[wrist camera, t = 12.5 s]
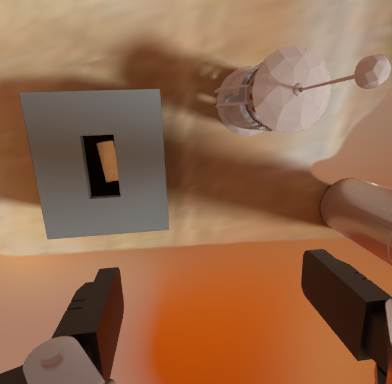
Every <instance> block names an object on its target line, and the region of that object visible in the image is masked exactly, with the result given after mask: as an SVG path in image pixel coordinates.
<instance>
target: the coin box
mask: <svg viewBox="0 0 392 384" xmlns="http://www.w3.org/2000/svg"><path fill="white" fill-rule="evenodd" d="M19 96H20V101H21V106H22V111H23V116H24V121H25V126H26V132H27V137H28V142H29V147H30V152H31V157H32V162H33V167H34V173H35V178H36V183H37V188H38V193H39V198H40V203H41V208H42V213H43V219H44V224H45V229H46V234H47V239H59V238H72V237H84V236H97V235H110V234H122V233H135V232H148V231H161V230H169V217H168V197H167V182H166V167H165V152H164V138H163V123H162V108H161V95H160V89H133V90H93V91H53V92H19ZM90 135H114V143H115V152H116V161H117V169H118V178H119V187H120V195H109V196H93V197H91V190H90V183H89V176H88V169H87V162H86V155H85V148H84V141H83V136H90Z"/></svg>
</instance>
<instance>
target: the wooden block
mask: <svg viewBox="0 0 392 384" xmlns="http://www.w3.org/2000/svg"><path fill="white" fill-rule="evenodd" d="M96 144H97V148H98V152H99V156H100V159H101V163H102V167H103V171H104V175H105V179H106V182H112V181H118V180H119V178H118V169H117V161H116V152H115V143H114V139H112V140H106V141H102V142H99V143H96Z"/></svg>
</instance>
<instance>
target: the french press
mask: <svg viewBox="0 0 392 384" xmlns="http://www.w3.org/2000/svg"><path fill="white" fill-rule="evenodd" d="M258 66H260V67H258ZM258 66H256V67H251V66H248V67H244V68H240V69H236V70H235V71H234V72H232V73H231V74H230V75H228V76H227V77H226V78H225V80H224V81H223V83H222V85H221V86H220V88H219V89H217V90H215V91H214V92H215V93H217V94H218V96H217V102H216V104H217V105H215V108H217V109H218V114H219V117H220V119H221V120H222V122H223V123H224V125H225V126H226V128H228V129H229V130H231V131H232V132H234V133H236V134H238V135H244V136H251V135H255V134H259V133H262V132H263V131H266V130H268V129H270V130H268V131H272V130H273V131H275V132H280V133H286V134H292V133H296V132H300V131H304V130H306V129H307V128H308V127H310V126H311V125H312V124H314V123H315V122H317V121H318V119H319V118H320V116H321V115H322V113H323V112H324V110H325V109H326V107H327V104H328V101H329V97H330V93H331V84H333V83H337V82H341V81H346V80H350V79H354V78H355V81H356V83H357V85H358V86H360V87H361V88H364V89H371V88H375V87H377V86H378V85H380V84H381V83H383V82H384V81H385V80H387V79H388V77H389V74H390V71H391V66H390V63H389V61H388V59H387V58H386V57H385V56H383V55H380V54H378V55H373V56H369V57H365V58H364V59H362V60H361V61H360V62H359V63H358V65H357V66H356V70H355V75H352V76H348V77H344V78H340V79H336V80H332V81H330V74H329V72H328V70H327V68H326V66H325V63H324V61H323V59H322V58H320V57H319V56H318V55H317V54H316V53H314V52H313V51H312V50H311V49H308V48H304V47H299V46H295V45H294V46H290V47H285V48H281V49H278V50H277V51H275V52H274V53H272V54H271V55H270V56H268V57H267V58H266V59H265V60H264V61H263V63H261V64H259V65H258ZM217 91H218V92H217Z"/></svg>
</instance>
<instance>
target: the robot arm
mask: <svg viewBox="0 0 392 384" xmlns="http://www.w3.org/2000/svg"><path fill="white" fill-rule="evenodd" d="M320 211H321V216H322V218H323V220H324V222H325V223H326V224H327V225H328V226H330V227H331V228H333V229H334V230H336V231H338V232H339V233H341V234H342V235H344V236H345V237H347V238H348V239H350V240H352V241H353V242H355V243H356V244H358V245H360V246H361V247H363V248H365V249H366V250H368V251H369V252H371V253H373V254H374V255H376V256H377V257H379V258H380V259H382V260H384V261H385V262H387V263H388V264H390V265H392V189H390V188H386V187H383V186H380V185H376V184H373V183H370V182H366V181H362V180H359V179H355V178H346V179H342V180H340V181H337V182H336V183H334V184H333V185H332V186H330V188H329V189H328V190H327V191H326V193H325V194H324V196H323V198H322V201H321V206H320ZM301 284H302V290H303V293H304V295H305V296H306V298H307V299H308V300H309V301H310V303H311V304H312V305H313V306H314V308H315V309H316V310H317V311H318V312H319V314H320V315H321V316H322V317H323V319H324V320H325V321H326V322H327V324H328V325H329V326H330V327H331V329H332V330H333V331H334V332H335V333H336V334H337V336H338V337H339V338H340V340H341V341H342V342H343V343H344V345H345V346H346V347H347V348H348V349H349V351H350V352H351V353H352V354H353V356H354V357H355V358H356V359H357V361H361V360H368V359H373V360H374V361H375V368H374V378H375V384H392V297H391V296H390V295H389V294H387V293H386V292H385V291H383V290H382V289H381V288H379V287H378V286H377V285H375V284H374V283H373V282H372V281H370V280H367V278H366V277H365V276H364V275H362V274H361V273H359V272H358V271H357V270H356V269H355V268H353V267H352V266H351V265H349V264H347V263H345V262H342V261H340V260H338V259H336V258H334V257H333V256H332V255H331V254H329V253H328V252H327V251H326V250H324V249H319V250H307V251H305V252H304V255H303V266H302V282H301ZM123 312H124V300H123V293H122V284H121V276H120V270H119V268H118V267H116V268H105V269H100V270H99V271H98V273H97V276H96V278H95V280H94V282H88V283H85V284H84V285H83V286H82V287H80V288H79V289H78V290H77V291H76V293H75V295H74V296H73V298H72V300H71V303H70V304H69V306H68V308H67V311H66V312H65V314H64V315H63V317H62V319H61V321H60V323H59V325H58V327H57V329H56V331H55V333H54V334H53V336H52V338H51V339H50V340H48V341H46V342H44V343H42V344H40V345H39V346H38V347H36V348H35V349H34V350H33V351H32V352H31V353H30V354H29V355H28V357H27V358H26V360H25V362H24V364H23V365H22V366H20V367H17V368H15V369H12V370H10V371H6V372H4V373H1V374H0V384H117V383H116V382H115V381H114V380H113V379H110V375H111V370H112V365H113V361H114V356H115V351H116V347H117V341H118V337H119V333H120V327H121V323H122V319H123ZM109 379H110V380H109Z"/></svg>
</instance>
